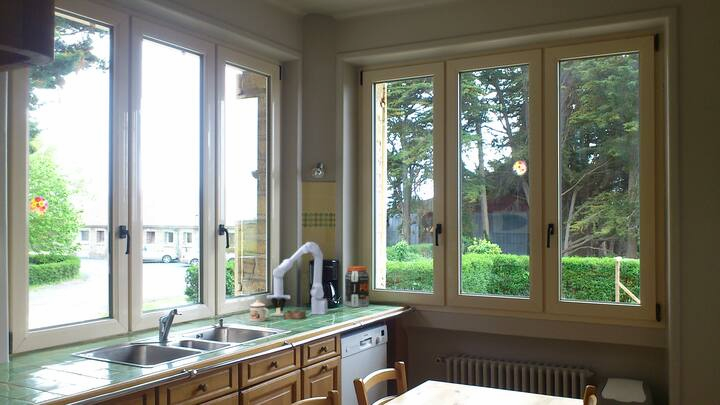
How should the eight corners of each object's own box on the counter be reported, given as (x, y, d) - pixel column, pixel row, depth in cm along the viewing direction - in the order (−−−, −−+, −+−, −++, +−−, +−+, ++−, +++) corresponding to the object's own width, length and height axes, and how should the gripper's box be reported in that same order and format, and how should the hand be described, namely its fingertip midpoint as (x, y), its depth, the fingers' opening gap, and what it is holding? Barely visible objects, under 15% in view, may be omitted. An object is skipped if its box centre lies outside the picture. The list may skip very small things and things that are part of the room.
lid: (288, 313, 396) (288, 307, 396) (282, 315, 387) (282, 308, 388) (275, 313, 398) (275, 307, 398) (269, 315, 390) (269, 308, 390)
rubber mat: (288, 315, 396) (288, 314, 396) (283, 317, 387) (283, 316, 387) (274, 314, 398) (274, 314, 398) (269, 317, 389) (268, 316, 389)
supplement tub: (360, 308, 422) (360, 267, 423) (340, 306, 430) (340, 267, 431) (373, 305, 435) (373, 266, 436) (354, 303, 444) (353, 265, 444)
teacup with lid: (246, 321, 374) (246, 301, 374) (255, 319, 382) (255, 299, 382) (264, 322, 368) (263, 301, 369) (273, 320, 377) (272, 300, 377)
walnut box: (305, 317, 387) (305, 310, 387) (300, 319, 377) (299, 312, 377) (290, 316, 390) (289, 310, 390) (283, 319, 380) (283, 312, 380)
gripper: (264, 288, 391) (264, 311, 391) (287, 288, 387) (287, 311, 387) (269, 287, 398) (269, 309, 397) (291, 287, 394) (292, 310, 394)
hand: (278, 310), depth 393 cm, fingers closed on lid, 3 cm apart
